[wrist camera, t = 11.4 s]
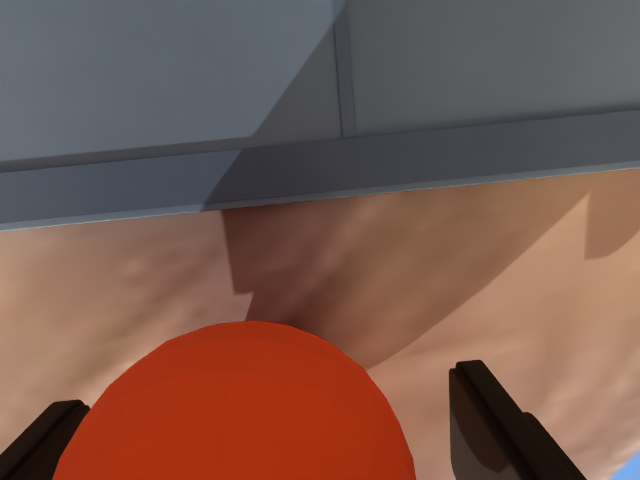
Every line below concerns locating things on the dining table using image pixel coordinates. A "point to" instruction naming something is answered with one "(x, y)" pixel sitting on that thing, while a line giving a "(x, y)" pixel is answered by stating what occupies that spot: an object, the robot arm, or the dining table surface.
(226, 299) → the dining table surface
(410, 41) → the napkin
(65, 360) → the dining table surface
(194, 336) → the clementine
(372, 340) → the dining table surface
